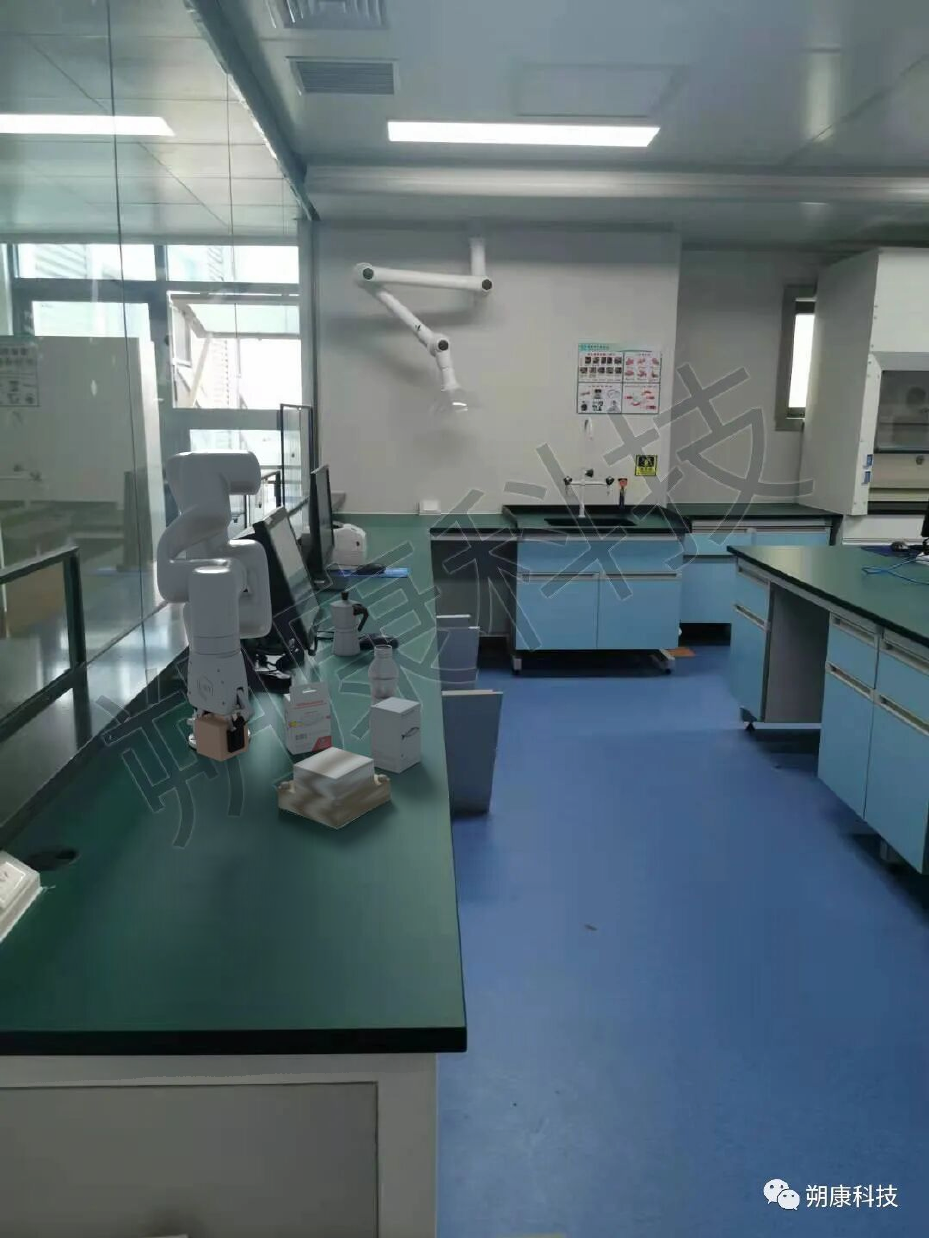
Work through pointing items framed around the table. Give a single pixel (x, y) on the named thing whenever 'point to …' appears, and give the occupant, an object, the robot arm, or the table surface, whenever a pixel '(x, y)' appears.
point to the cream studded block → (334, 787)
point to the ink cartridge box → (307, 718)
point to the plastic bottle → (383, 675)
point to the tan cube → (215, 736)
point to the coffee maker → (347, 625)
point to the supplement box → (395, 734)
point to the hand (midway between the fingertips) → (222, 744)
